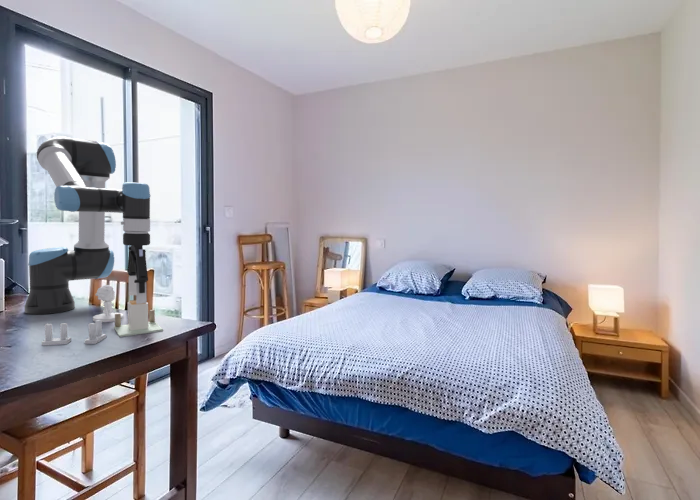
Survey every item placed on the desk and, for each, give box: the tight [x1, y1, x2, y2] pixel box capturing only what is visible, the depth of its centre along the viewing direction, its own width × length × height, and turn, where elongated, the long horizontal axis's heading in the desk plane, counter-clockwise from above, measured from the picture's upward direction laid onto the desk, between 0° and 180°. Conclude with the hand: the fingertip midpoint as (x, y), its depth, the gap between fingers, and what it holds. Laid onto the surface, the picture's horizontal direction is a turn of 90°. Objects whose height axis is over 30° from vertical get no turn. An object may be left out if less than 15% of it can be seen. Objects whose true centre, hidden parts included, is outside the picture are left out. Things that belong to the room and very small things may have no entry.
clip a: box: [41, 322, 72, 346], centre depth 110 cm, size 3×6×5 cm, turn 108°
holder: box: [113, 309, 164, 338], centre depth 125 cm, size 12×12×5 cm
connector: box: [127, 299, 149, 330], centre depth 125 cm, size 5×5×9 cm
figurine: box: [92, 284, 125, 323], centre depth 137 cm, size 9×9×12 cm
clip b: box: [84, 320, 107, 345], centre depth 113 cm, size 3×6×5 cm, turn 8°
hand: (137, 299), depth 125 cm, fingers open, 13 cm apart
